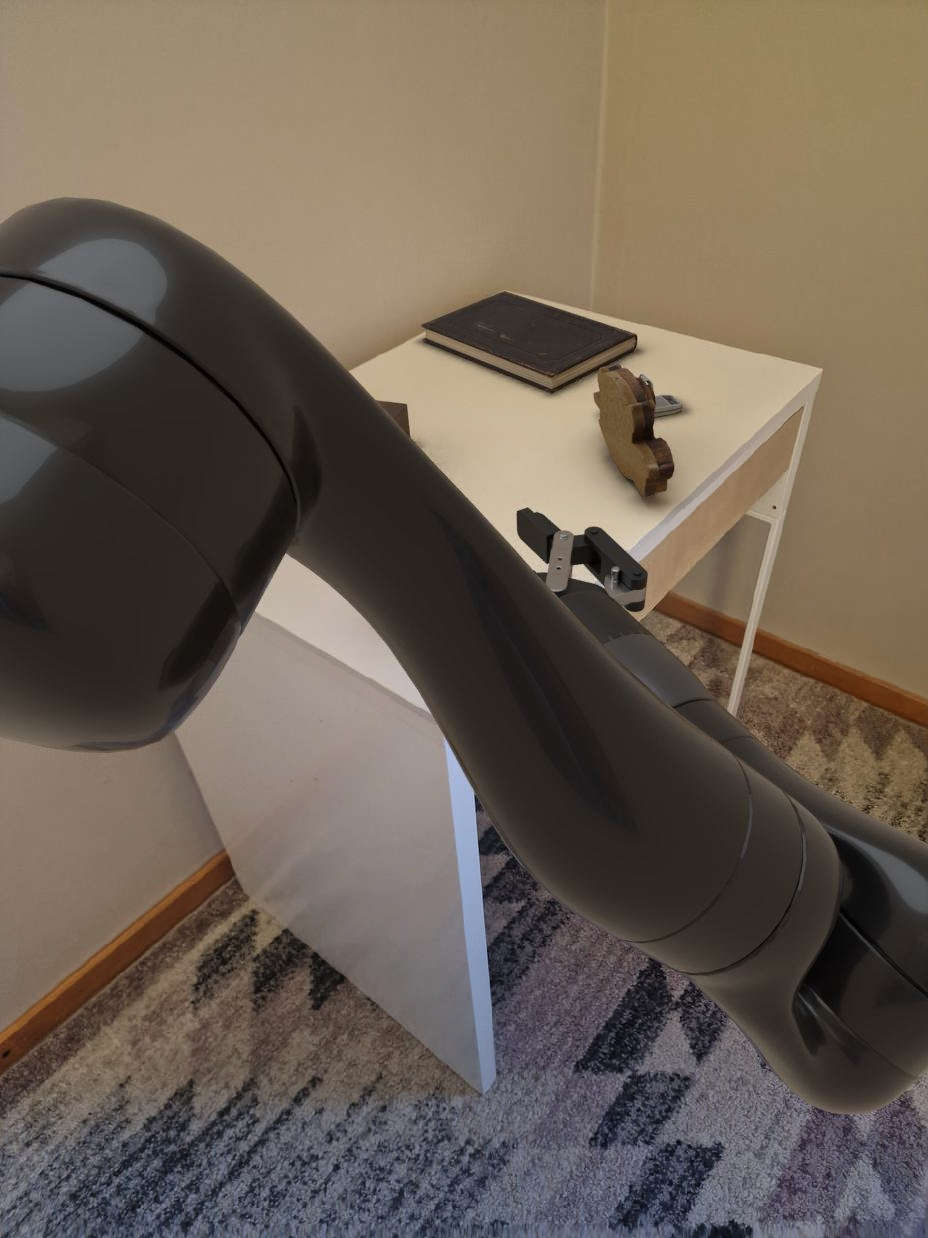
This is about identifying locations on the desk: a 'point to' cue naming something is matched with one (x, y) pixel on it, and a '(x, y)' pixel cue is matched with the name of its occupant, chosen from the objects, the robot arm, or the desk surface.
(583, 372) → the hardcover book
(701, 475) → the desk surface
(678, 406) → the strap clip
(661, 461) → the wooden carving
